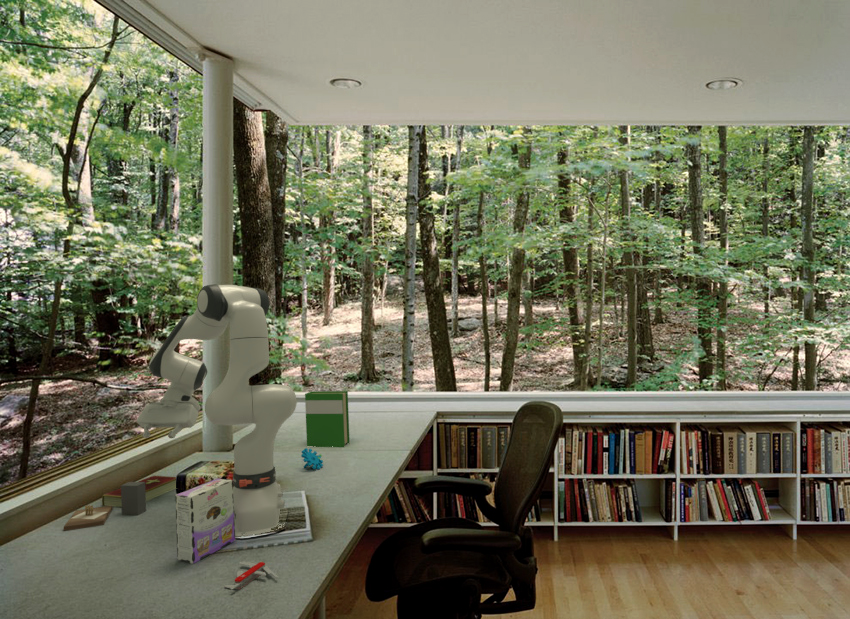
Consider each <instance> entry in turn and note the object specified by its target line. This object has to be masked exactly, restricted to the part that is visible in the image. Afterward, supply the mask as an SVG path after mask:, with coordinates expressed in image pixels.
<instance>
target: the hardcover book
mask: <svg viewBox="0 0 850 619" xmlns="http://www.w3.org/2000/svg"><path fill="white" fill-rule="evenodd" d="M176 477H177V476H166V475H164V476H163V475H152V476H149V477H146V478H144V479H141V480H138V481H137V482H145V492H146V502H147V501H150V500H153V499H155V498H157V497H159V496H162V495H164V494H167V493H169V492H171V491H174V490H175V489H177V488H176ZM101 504H102V507H104V506H111V505H113V507H118V508H119V507H120V508H122V503H121V487H120V488H117V489H114V490H113V491H109V492H107V493H105V494H103V495H102V497H101Z"/></svg>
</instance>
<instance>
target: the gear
mask: <svg viewBox="0 0 850 619" xmlns="http://www.w3.org/2000/svg"><path fill="white" fill-rule="evenodd" d="M301 453H302V454H301V455H300V456H301V458H303V460H302V462H304V463H305V464H304V465H303V468H304V469H306V468H308V467H309V468H310V467H311V466H312V467H311V468H312V469H313V470H316V469H317V470H320V469H321V468H322V467H323V466H324V460H323V459H321V458H322V456H323V455H322V454H321V453H320V454H319V455H317V454H318V452H317V451H316V450H314V451H313V449H312V448H309V449H308V447H305V448H304V449H302V450H301Z"/></svg>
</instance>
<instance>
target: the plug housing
mask: <svg viewBox="0 0 850 619" xmlns="http://www.w3.org/2000/svg"><path fill="white" fill-rule="evenodd" d="M120 488H121V503H122V507H121V515H122V516H123V515H124V516H140V515H141V514H143V513H144V512H146V511H147V501H146V492H145V482H138V481H128V482H126V483H124V484H121V485H120Z"/></svg>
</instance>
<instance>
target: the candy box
mask: <svg viewBox="0 0 850 619" xmlns="http://www.w3.org/2000/svg"><path fill="white" fill-rule="evenodd" d="M233 487H234V485H233V479H228V478H227V479H226V478H218V477H217V478H215V479H212V480H210V481H207V482H205V483H202V484H200V485H197V486H195V487H192V488H190V489H187V490H184V491H183V492H180V493H177V494H175V498H174V499H175V520H176V521H175V523H176V524H175V525H176V552H177V553H176V554H177V560H178V561H180V562H184V563H188V564H191V565H194V564H195V563H197V562H199V561H201V560H202V559H205V558H206V557H208V556H210V555H212V554H214V553H215V552H217V551H219V550H221V549H223V548H225V547H226V546H228V545H230V544H232V543H234V542H235V541H236V539H235V523H234V502H233ZM234 540H235V541H234ZM233 541H234V542H233Z"/></svg>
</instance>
